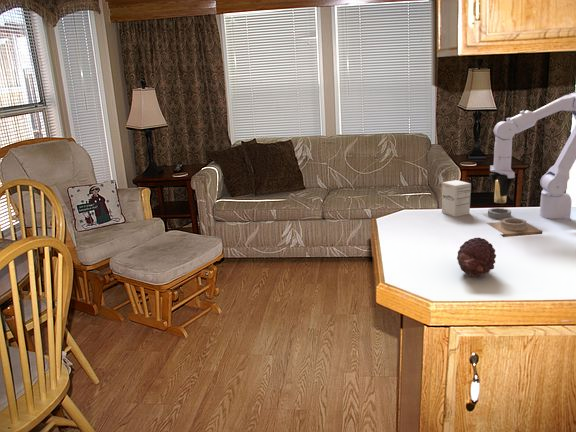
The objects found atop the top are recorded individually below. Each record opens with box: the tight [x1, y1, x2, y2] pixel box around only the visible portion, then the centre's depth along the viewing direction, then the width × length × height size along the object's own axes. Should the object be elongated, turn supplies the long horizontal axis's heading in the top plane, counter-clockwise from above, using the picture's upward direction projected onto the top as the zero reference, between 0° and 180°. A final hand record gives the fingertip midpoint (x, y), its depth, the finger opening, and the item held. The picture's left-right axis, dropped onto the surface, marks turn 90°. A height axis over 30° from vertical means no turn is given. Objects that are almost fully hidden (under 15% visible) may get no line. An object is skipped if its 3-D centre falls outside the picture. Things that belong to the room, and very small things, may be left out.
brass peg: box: [493, 179, 507, 204], centre depth 196 cm, size 4×4×8 cm
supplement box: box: [441, 179, 472, 217], centre depth 203 cm, size 7×7×13 cm
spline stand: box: [482, 207, 516, 222], centre depth 198 cm, size 9×9×3 cm
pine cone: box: [456, 237, 497, 278], centre depth 149 cm, size 18×10×10 cm, turn 160°
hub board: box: [486, 217, 543, 238], centre depth 185 cm, size 13×13×3 cm
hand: (500, 194), depth 196 cm, fingers closed on brass peg, 4 cm apart
